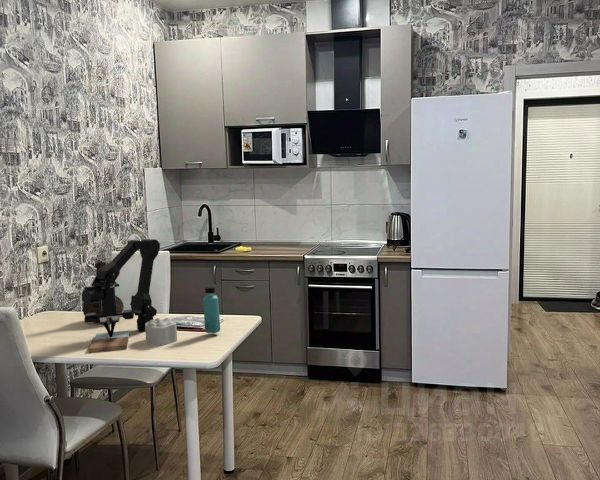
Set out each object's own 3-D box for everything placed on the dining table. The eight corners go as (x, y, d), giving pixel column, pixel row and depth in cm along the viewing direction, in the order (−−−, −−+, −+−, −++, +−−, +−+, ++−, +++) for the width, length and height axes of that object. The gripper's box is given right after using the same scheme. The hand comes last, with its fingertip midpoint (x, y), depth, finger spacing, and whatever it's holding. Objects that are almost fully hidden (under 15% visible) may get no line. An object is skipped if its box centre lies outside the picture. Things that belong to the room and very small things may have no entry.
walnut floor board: (128, 340, 235) (128, 336, 235) (126, 349, 223) (126, 345, 223) (93, 344, 232) (92, 340, 232) (89, 352, 220) (89, 348, 220)
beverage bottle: (223, 333, 241) (221, 285, 238) (214, 337, 235) (212, 289, 232) (210, 332, 243) (207, 285, 241) (201, 336, 237) (198, 288, 235)
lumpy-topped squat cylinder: (159, 346, 225) (158, 325, 224) (139, 341, 233) (138, 320, 232) (180, 340, 233) (179, 319, 232) (160, 335, 241) (159, 315, 240)
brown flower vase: (82, 320, 272) (77, 261, 269) (121, 315, 280) (117, 257, 277) (85, 328, 256) (80, 266, 253) (127, 323, 264) (122, 262, 261)
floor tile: (129, 333, 245) (128, 330, 245) (127, 340, 235) (127, 336, 235) (96, 336, 242) (96, 333, 242) (94, 343, 233) (93, 339, 232)
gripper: (133, 293, 244) (135, 329, 246) (86, 297, 240) (89, 333, 242) (131, 298, 233) (134, 336, 235) (82, 302, 229) (86, 341, 231)
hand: (111, 336), depth 236 cm, fingers closed, pressing on floor tile
